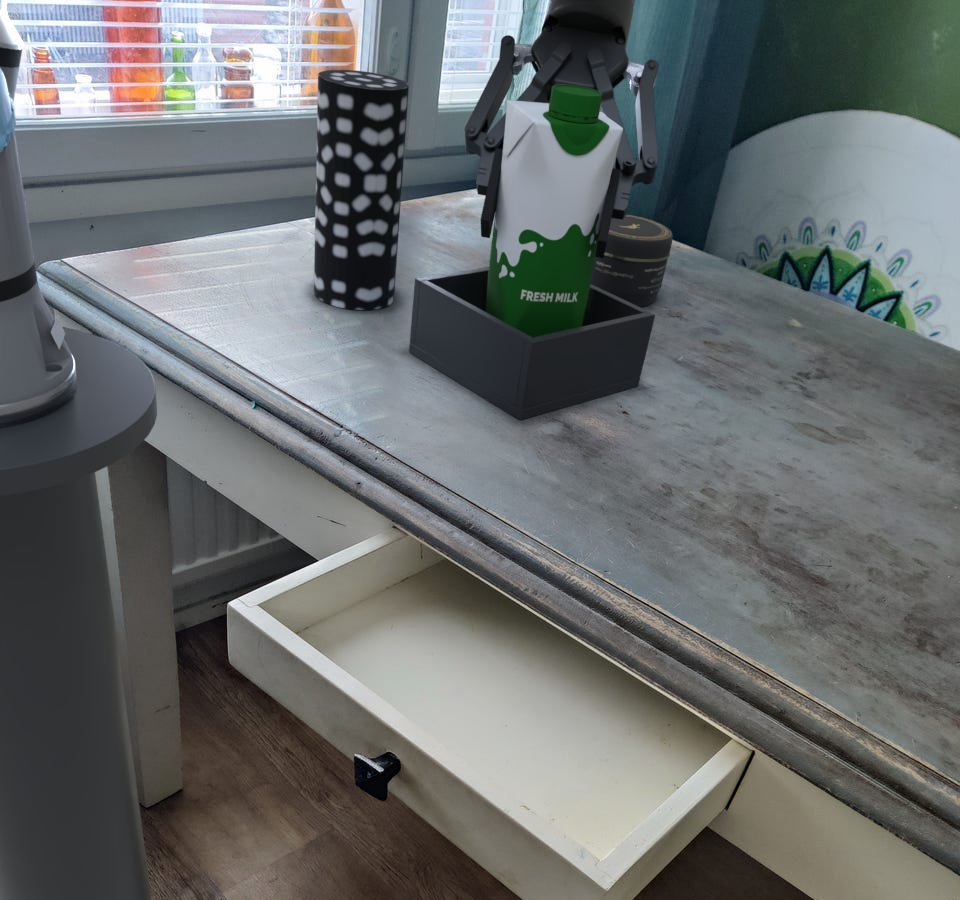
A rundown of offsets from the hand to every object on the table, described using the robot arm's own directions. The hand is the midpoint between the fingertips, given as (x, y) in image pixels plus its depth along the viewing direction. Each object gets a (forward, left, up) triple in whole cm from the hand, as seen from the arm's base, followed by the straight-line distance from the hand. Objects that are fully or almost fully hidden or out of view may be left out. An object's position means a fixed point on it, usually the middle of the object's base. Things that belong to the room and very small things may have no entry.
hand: (542, 239), depth 83 cm
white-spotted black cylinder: (-24, -2, -13) cm, 27 cm away
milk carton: (-2, +2, -9) cm, 10 cm away
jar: (-13, +27, -13) cm, 33 cm away
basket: (-2, +2, -13) cm, 13 cm away
